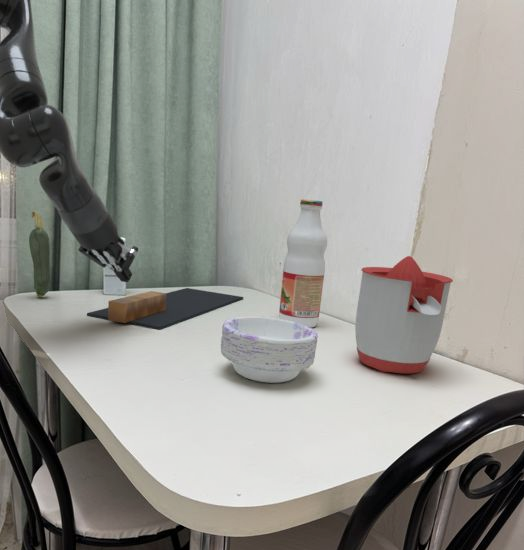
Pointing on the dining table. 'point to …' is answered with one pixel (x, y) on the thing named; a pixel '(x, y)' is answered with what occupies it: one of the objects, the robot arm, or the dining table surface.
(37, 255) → the vegetable
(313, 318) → the fruit juice
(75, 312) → the dining table surface
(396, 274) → the citrus juicer
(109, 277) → the syrup box
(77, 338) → the dining table surface
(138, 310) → the oak stick
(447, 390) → the dining table surface
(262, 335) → the paper bowls
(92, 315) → the mat
